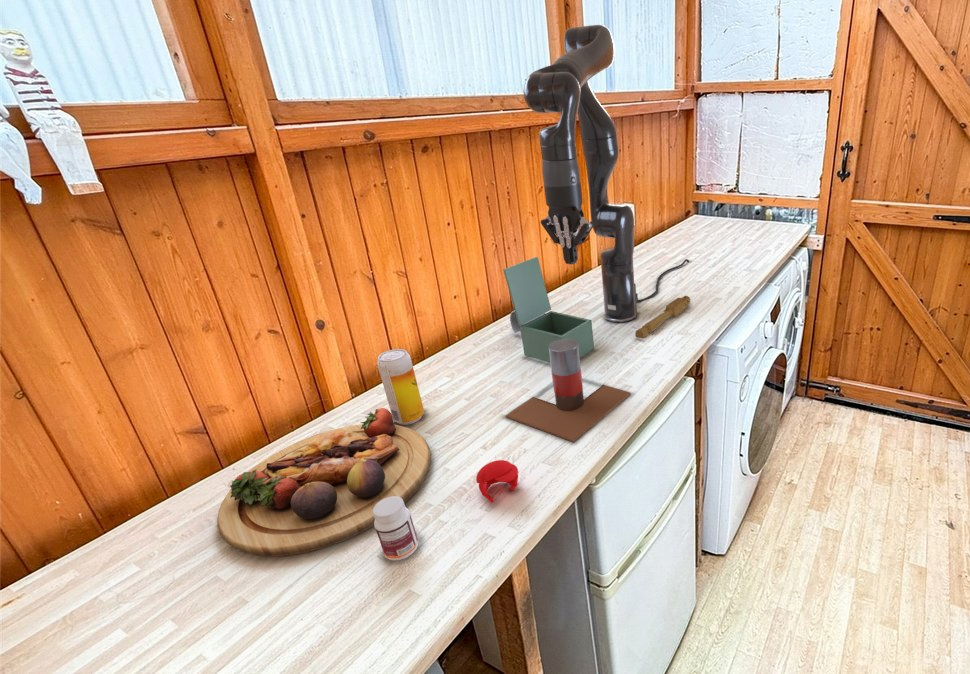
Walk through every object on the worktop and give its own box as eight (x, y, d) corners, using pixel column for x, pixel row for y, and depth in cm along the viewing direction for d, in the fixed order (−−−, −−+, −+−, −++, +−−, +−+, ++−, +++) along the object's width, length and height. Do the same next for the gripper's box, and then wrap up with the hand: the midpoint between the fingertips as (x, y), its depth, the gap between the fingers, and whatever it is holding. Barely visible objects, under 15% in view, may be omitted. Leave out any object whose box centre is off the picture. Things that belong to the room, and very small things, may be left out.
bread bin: (594, 350, 135) (591, 319, 132) (565, 369, 126) (562, 337, 123) (554, 340, 142) (550, 310, 138) (524, 357, 133) (519, 326, 129)
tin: (561, 395, 115) (554, 337, 109) (587, 397, 114) (582, 339, 108) (551, 410, 109) (543, 350, 103) (579, 412, 108) (572, 352, 102)
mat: (567, 375, 124) (566, 373, 123) (630, 394, 115) (630, 392, 115) (505, 417, 108) (505, 415, 108) (573, 442, 100) (573, 440, 99)
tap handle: (634, 328, 140) (683, 293, 163) (634, 339, 141) (683, 302, 164) (643, 331, 138) (692, 294, 162) (644, 341, 140) (692, 304, 163)
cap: (469, 499, 86) (462, 471, 84) (490, 476, 91) (485, 449, 89) (511, 510, 84) (505, 480, 81) (530, 485, 89) (525, 457, 86)
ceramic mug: (550, 331, 148) (547, 305, 144) (526, 340, 142) (522, 314, 139) (529, 322, 154) (525, 297, 151) (505, 330, 149) (501, 305, 146)
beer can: (431, 412, 111) (415, 349, 105) (410, 428, 106) (393, 363, 99) (408, 408, 113) (391, 346, 106) (387, 423, 108) (368, 359, 101)
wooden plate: (364, 416, 110) (353, 382, 107) (469, 460, 96) (461, 423, 92) (184, 513, 85) (162, 473, 82) (289, 593, 71) (268, 549, 67)
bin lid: (537, 256, 133) (525, 257, 135) (504, 269, 124) (492, 270, 126) (551, 309, 138) (539, 309, 140) (520, 325, 129) (508, 325, 131)
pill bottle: (391, 538, 79) (377, 495, 76) (423, 535, 79) (410, 492, 76) (379, 563, 75) (363, 519, 71) (413, 560, 75) (399, 516, 72)
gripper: (599, 180, 106) (605, 262, 113) (549, 177, 112) (558, 255, 119) (576, 186, 100) (585, 272, 108) (525, 183, 106) (536, 264, 114)
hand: (571, 263), depth 113 cm, fingers closed
